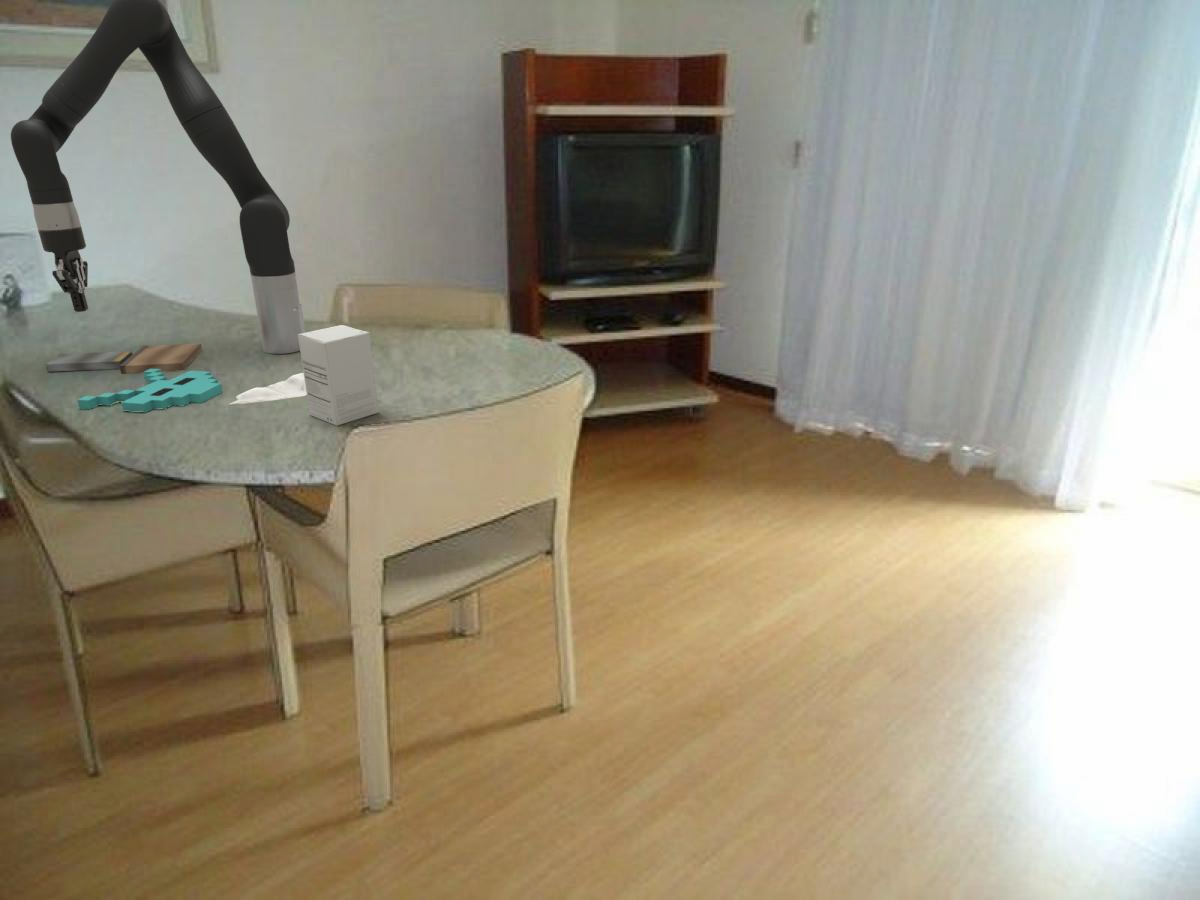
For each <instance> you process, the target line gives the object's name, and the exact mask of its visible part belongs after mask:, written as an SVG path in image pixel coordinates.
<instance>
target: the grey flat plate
mask: <svg viewBox="0 0 1200 900" xmlns="http://www.w3.org/2000/svg"><path fill="white" fill-rule="evenodd" d="M133 354H134V353H133V351H132V350H129V351H128V350H126V351H105V352H80V353H79V352H78V353H74V352H73V353H61V354H58V356H56V357H55V358H53V359H52V360H50V361H49V362H47V363H46V364H45V366H46V370H47V372H48V373H50V372H51V373H52V372H72V371H73V372H74V371H97V370H99V371H100V370H118V369H119V370H120V365H121V364H122V363H123V362H125V361H126V360H127V359H128V358H129V357H131V356H132V355H133Z"/></svg>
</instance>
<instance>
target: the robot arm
mask: <svg viewBox="0 0 1200 900" xmlns="http://www.w3.org/2000/svg"><path fill="white" fill-rule="evenodd" d="M137 49H139V50H140V52H141V53H142V54H143V56H144V57H145V59H146V60H147V61H148V63H149V64H150V65H151V67H152V68H153V70H154V72H155V73H156V75H157V77H158V78H159V81H160V83H161V85H162V88H163V91H164V93H165V94H166V97H167V99H168V101H169V104H170V106H171V108H172V110H173V112H174V115H175V116H176V118H177V120H178V121H179V123H180V125H181V126H182V129H183V130H184V132H185V133H186V134H187V136H188V138H189V139H190V140H191V143H192V144H193V145H194V147H195V148H196V150H197V151H198V152H199V153H200V154H201V155H202V157H203V158H204V159H205V160H206V161H207V163H208V164H210V166H211V167H212V168H213V169H214V170H215V171H216V172H217V173H218V175H220V176H221V178H222V179H223V180H224V182H225V183H226V185H228V187H229V188H230V191H231V192H232V194H233V195H234V197H235V199H236V200H237V202H238V204H239V206H240V208H241V209H240V212H239V228H240V234H241V240H242V246H243V249H244V250H243V251H244V255H245V256H244V257H245V260H246V262H247V264H248V266H249V268H248V269H249V272H250V277H251V283H252V291H253V296H254V301H255V310H256V316H257V322H258V328H259V334H260V341H261V346H262V351H263V352H264V353H266V354H272V355H273V354H274V355H278V354H279V355H280V354H281V355H282V354H292V353H296V352H300V346H299V339H298V334H301V333H306V332H307V331H306V326H305V319H304V311H303V305H302V304H301V303H300V298H299V289H298V282H297V277H296V276H297V275H296V270H295V269H296V266H295V261H294V259H293V257H292V254H291V249H290V242H289V236H288V229H289V227H290V222H291V220H290V219H291V217H290V215H289V211H288V209H287V207H286V206H285V204H284V203H283V201H282V200H281V198H280V197H279V196H278V195H277V193H276V192H275V190H274V189H273V188H272V186H271V185H270V184H269V182H268V181H267V179H266V178H265V177H264V175H263V174H262V172H261V171H260V169H259V167H258V166H257V164H256V162H255V160H254V159H253V156H252V154H251V152H250V150H249V149H248V146H247V144H246V143H245V140H244V139H243V137H242V135H241V133H240V131H239V130H238V129H237V126H236V125H235V122H234V121H233V119H232V118H231V116H230V114H229V113H228V111H227V110H226V108H225V106H224V104H223V103H222V101H221V100H220V98H219V97H218V95H217V94H216V92H215V91H214V89H213V88H212V86H211V85H210V84H209V82H208V81H207V79H206V78H205V77H204V75H203V74H202V73H201V72H200V70H199V69H198V67H197V66H196V65H195V64H194V62H193V60H192V59H191V57H190V55H189V54H188V52H187V50H186V48H185V46H184V44H183V42H182V40H181V38H180V35H179V34H178V32H177V30H176V28H175V26H174V23H173V21H172V20H171V16H170V14H169V11H167V9H166V7H165V5H163V3H162V2H161V1H160V0H112V1H111V3H110V6H109V7H108V9H107V11H106V12H105V15H104V17H103V18H102V20H101V22H100V23H99V26H98V27H97V28H96V30H95V31H94V33H93V34H92V36H91V38H90V39H89V41H88V42H86V44H85V46H84V47H83V49H82V50H81V51H79V53H78V55H77V56H76V57H75V58H74V59H73V60H72V61H71V63H70V64H69V65H68V66H67V68H66V69H65V70H64V71H63V72H62V73H61V74H59V75H60V76H58V78H57V79H56V80H55V81H54V82H53V83H52V85H51V86H50V87H49V89H47V91H46V92H45V93H44V95H43V97H42V98H41V104H40V105H39V106H38V107H37V109H36V110H35V111H34V112H33V113H32V115H31V116H30V117H29V118H28V119H24V120H20V121H18V122H16V123H15V124H14V125H13V127H12V128H11V130H10V131H11V132H10V141H11V146H12V150H13V153H14V155H15V158H16V160H17V162H18V164H19V167H20V168H21V169H20V170H21V171H22V174H23V175H24V178H25V180H26V186H27V189H28V194H29V198H30V201H31V204H32V207H33V208H32V209H33V210H32V211H33V216H34V220H35V224H36V227H37V231H38V236H39V237H40V241H41V246H42V248H43V251H44V252H46V253H52V254H53V255H54V265H55V266H54V267H55V269H56V270H52V273H51V274H52V276H53V277H54V279H55V281H56V282H57V284H58V285H59V287H60V288H61V290H62V291H63V293H64V294H66V293H67V294H68V295H70V299H71V302H72V303H71V304H72V306H73V310H74V312H76V313H80V312H81V313H82V312H86V311H88V309H89V305H88V302H87V301H88V300H87V298H86V295H85V292H86V288H88V283H89V282H88V275H89V274H88V270H89V269H88V267H89V265H88V262H87V260H85V261H84V260H83V258H82V257H81V254H80V252H79V251H81V250H84V249H86V247H87V244H86V240H85V237H84V236H85V235H84V231H83V229H82V224H81V221H80V220H81V219H80V216H79V213H78V211H77V207H76V206H75V202H74V200H73V199H74V198H73V195H72V190H71V188H70V184H69V181H68V179H67V176H66V175H65V174H64V173H63V171H62V169H61V166H60V162H59V160H58V155H57V153H58V152H59V151H60V150H61V148H62V147H63V146H64V144H66V142H67V141H68V139H69V137H70V136H71V134H72V133H73V131H74V130H75V129H76V126H78V124H80V122H81V121H83V119H84V118H85V117H86V116H87V115H88V114H89V113H90V112H91V110H92V109H93V108H94V107H95V105H96V104H98V102H99V100H100V99H101V98H102V97H103V95H104V93H105V92H106V91H107V88H109V85H110V83H111V81H112V80H113V78H114V76H115V74H116V73H117V72H118V70H119V69H120V67H121V65H123V63H124V62H125V61H126V60H127V58H129V57H130V55H132V54H134V52H135V51H136V50H137Z"/></svg>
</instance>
